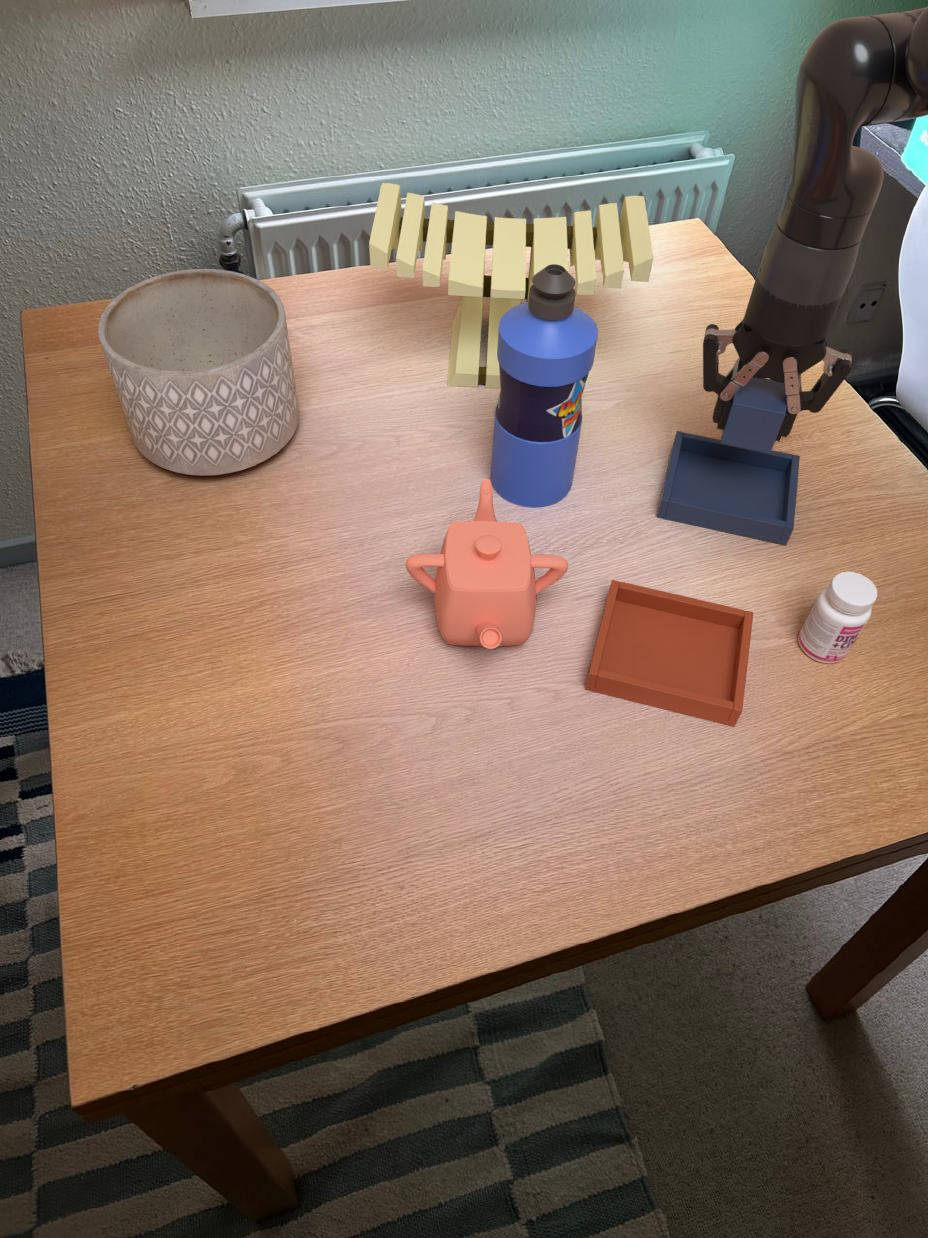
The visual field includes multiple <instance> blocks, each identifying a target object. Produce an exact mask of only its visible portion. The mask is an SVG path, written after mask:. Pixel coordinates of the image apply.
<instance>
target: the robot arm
mask: <svg viewBox="0 0 928 1238" xmlns="http://www.w3.org/2000/svg"><path fill="white" fill-rule="evenodd" d="M795 85H796V86H795V95H794V96H795V97H794V123H793V125H794V126H793V127H794V129H793V142H792V161H791V162H792V163H791V173H790V178H789V180H788V183H787V185H786V186H787V187H786V190H785V191H784V196H783V200H782V203H781V206H780V208H779V212H778V214H777V219H776V222H775V224H774V226H773V229H772V231H771V233H770V235H769V236H768V239H767V242H766V245H765V248H764V251H763V253H762V254H761V256H760V260H759V267H758V270H757V273H756V277H755V279H754V284H753V286H752V289H751V293H750V296H749V300H748V303H747V306H746V308H745V309H746V310H745V313H744V316H743V318H742V320H741V321H740V322H739V323H738V324H737V325H736V326H735V328H734V329H720V327H719V326H718V325H717V324H715V323H711V324H708V325H707V326H706V327H705V332H704V337H703V341H702V387H703V390H704V391H705V392H707V393H714V394H715V395H717V399H716V402H715V405H714V408H713V412H712V423H713V424H716V429H717V430H721V431H722V430H723V429H724V426H725V423H726V420H727V417H728V414H729V411H730V407H731V404H732V400H733V396H734V395H735V394H736V393H737V392H738V391H739V389H740V388H741V387H744V386H745V385H746V384H747V383H748V382H749V380H750V379H751V378H752V377H754V378H766V379H771V380H773V381H776V382H780V383H784V382H785V391H786V397H787V406H786V415H785V417H784V420H783V422H782V425H781V427H780V430H779V433H778V435H777V438H776V440H775V442H781V439H782V438H787V437H788V436H789V435H790V434H791V431H792V429H793V426H794V424H795V422H796V418H797V416H798V414H799V413H801V412H803V411H809V412H810V413H812V414H818V413H820V412H821V411H822V410H823V408H824V407H825V405H826V404H827V403H828V401H829V400H830V399H831V398H832V396H833V395H835V392H837V390H838V389H839V387H840V386H841V385H842V384H843V382H844V381H845V379H846V378H847V377H848V376H849V374H850V373H851V372H852V360H853V358H852V357H853V356H852V355H853V353H852V351H851V350H850V349H848V348H842V349H841V350H839V351H838V350H835V349H834V348H831V347H829V346H828V342H827V337H828V334H829V332H830V330H831V326H832V324H833V321H834V319H835V316H836V314H837V311H838V309H839V306H840V304H841V301H842V299H843V296H844V294H845V291H846V288H847V286H848V284H849V281H850V279H851V276H852V274H853V270H854V268H855V265H856V262H857V259H858V255H859V251H860V246H861V243H862V240H863V236H864V235H865V231H866V228H867V226H868V223H869V221H870V218H871V215H872V213H873V211H874V208H875V206H876V204H877V201H878V198H879V196H880V193H881V190H882V187H883V181H884V176H885V173H884V167H883V164H882V162H881V160H880V159H879V158H878V157H877V156H876V155H875V154H873V153H872V152H870V151H868V150H867V149H864V148H861V147H860V146H854V145H853V143H854V138H855V136H856V133H857V131H858V129H859V128H862V127H863V128H864V127H871V126H877V125H886V124H892V123H897V122H898V123H899V122H904V121H909V120H914V119H918V118H923V117H927V116H928V5H927V6H926V7H922V8H917V9H912V10H907V11H898V12H890V13H880V14H874V15H873V14H872V15H863V16H853V17H852V16H851V17H848V18H847V17H845V18H841V19H838V20H836V21H833V22H831V23H830V24H828V25H827V26H826V27H824V28H823V29H822V30H821V31H820V32H819V33H818V35H816V37H815V38H814V39H813V40H812V42H811V44H810V45H809V47H808V48H807V50H806V51H805V54H804V56H803V57H802V60H801V63H800V66H799V69H798V71H797V77H796V83H795ZM730 345H733V347H734V350H735V351H736V353H737V355H738V358H737V359H736V361H735V362H734V364H733V366H732V368H731V369H729V371H728V372H727V373H726V375H724V374H722V373H720V372H719V371H720V370H719V369H720V366H719V365H720V363H719V362H720V361H719V360H720V359H719V358H720V355H722V354H724V353H725V352H726V350H727V347H728V346H730ZM821 362H823V367H822V369H823V370H822V374H821V375H820V377H819V378H818V379H817V381H816V383H814V384H813V386H812V388H811V389H810V390H805V391H803V389H802V387H803V385H802V374H803V373H805V372H807V371H808V370H810V369H811V368H813V367H814V366H815V365H817V364H819V363H821Z"/></svg>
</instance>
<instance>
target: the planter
mask: <svg viewBox="0 0 928 1238" xmlns="http://www.w3.org/2000/svg"><path fill="white" fill-rule="evenodd" d="M286 316H287V315H286V310H285V305H284V303H283V301H282V300H281V297H280V296H279V295H278V294H277V293H276V291H274V289H273V288H272V287H270V286H269V285H267V284H266V283H264V282H262V281H261V280H259V279H257V278H254V277H252V276H249V275H247V274H244V273H241V272H236V271H231V270H225V269H217V268H216V269H215V268H192V269H182V270H181V269H180V270H176V271H169V272H167V273H161V274H159V275H154V276H153V277H149V278H147V279H144V280H142V281H140V282H137V283H136V284H134V285H131V286H130V287H128V288H126V289H125V290H124V291H122V292H120V293H119V294H118V295H117V296H116V297H114V298H113V299H112V300H111V301H110V302H109V303H108V305H107V306H106V307H105V309H104V310H103V312H102V314H101V315H100V317H99V322H98V326H97V333H98V334H97V335H98V339H99V343H100V345H101V349H102V351H103V354H104V357H105V360H106V363H107V365H108V369H109V372H110V375H111V380H112V381H113V384H114V389H115V390H116V392H117V393H116V394H117V396H118V400H119V403H120V406H121V409H122V411H123V412H122V413H123V415H124V418H125V421H126V423H127V426H128V429H129V433H130V436H131V439H132V442H133V444H134V446H135V447H136V449H137V450H138V451H139V452H140V454H141V455H142V456H143V457H144V458H145V459H146V460H148V461H149V462H150V463H153V464H154V465H156V466H157V467H160V468H162V469H165V470H168V471H169V472H173V473H178V474H183V475H188V476H200V477H201V476H203V477H204V476H220V475H227V474H232V473H236V472H240V471H243V470H247V469H249V468H252V467H255V466H257V465H259V464H261V463H263V462H265V461H266V460H268V459H270V458H272V457H274V455H276V454H277V453H278V452H280V451H281V450H282V449H283V448H285V447H286V445H287V444H288V443H289V442H290V440H291V439H292V438H293V436H294V435H295V432H296V431H297V428H298V425H299V421H300V407H299V401H298V394H297V393H298V392H297V387H296V380H295V373H294V365H293V358H292V351H291V344H290V339H289V338H290V336H289V330H288V323H287V317H286Z"/></svg>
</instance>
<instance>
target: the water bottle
mask: <svg viewBox="0 0 928 1238" xmlns="http://www.w3.org/2000/svg"><path fill="white" fill-rule="evenodd" d="M568 271H569V270H568ZM568 271H567V270H566V269H565V268H564V267H562V266H560V265H557V264H552V265H548V266H547V267H545V268H544V269H542V270H541V271H539V272H538V273H537V274H535V275H534V276H533V278H532V283H533V285H532V286H531V288H530V291H529V301H528V302H523V303H520V304H519V305H517V306H515V307H513V308H511V309H510V310H508V311H507V312H506V313H505V314H504V315H503V316H502V318H501V320H500V322H499V332H498V347H497V358H498V362H499V372H500V387H501V388H499V389H500V390H499V394H498V399H497V403H496V405H495V409H494V417H493V418H494V420H493V432H492V446H491V460H490V461H491V464H490V475H489V478H490V479H489V480H490V481H491V484H492V489H493V490H494V491H495V492H496V493H497V494H498V496H500V498H502V499H503V500H505V501H507V502H509V503H511V504H513V505H516V506H521V507H525V508H543V507H549V506H552V505H555V504H557V503H558V502H560V501H562V500H563V499H564V498H566V497H567V496H568V494H569V493H570V491H571V490H572V486H573V480H574V475H575V469H576V462H577V457H578V456H577V455H578V450H579V445H580V444H579V443H580V437H581V430H582V424H583V403H582V402H583V399H582V397H583V393H584V391H585V388H586V384H587V381H588V377H589V374H590V371H591V370H592V368H593V366H594V361H595V357H596V349H597V343H598V337H599V329H598V326H597V323H596V321H595V320H594V319H593V318H592V317H591V316H590V315H589V314H588V313H587V312H585V311H584V310H582V309H581V308H579V307H576V306H575V302H576V295H577V291H576V289H575V288H576V278H574V277H573V276H572V275H571V273H568Z"/></svg>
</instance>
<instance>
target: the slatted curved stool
mask: <svg viewBox="0 0 928 1238" xmlns="http://www.w3.org/2000/svg"><path fill="white" fill-rule="evenodd" d="M645 199H646V198H645V196H644V195H628V196H625V197H624V199H623V202H622V207H621V211H620V217H619V212H618V211H619V209H618V203H617V202H611V203H603V204H598V208H597V212H596V220H595V225H594V226H593V220H592V218H593V217H592V210H591V209H589V210H582V211H574V213H573V217H572V223H571V225H568V224H567V216H557V217H539V218H537V217H536V218H533V223H527V219H526V218H516V217H515V218H513V217H497V216H495V217H494V221H488V216H487V215H482V214H475V213H469V212H463V211H458V210H456V211H454V212H455V213H454V219H449V205H446V204H441V203H437V202H433V201H432V202H431V206H430V213H429V218H426V204H425V203H426V201H425V196H424V195H421V194H417V193H413V192H409V191H408V192H407V193H406V198H405V205H404V210H403V215H402V192H401V185H400V184H396V183H392V182H391V183H390V182H382V183H381V185H380V190H379V193H378V198H377V203H376V208H375V214H374V218H373V223H372V228H371V233H370V237H369V242H368V244H369V245H368V249H369V266H370V269H389V265H390V259H391V254H392V250H396V257H395V263H396V264H395V265H396V266H395V267H396V278H408V279H409V278H410V279H414V278H415V274H416V267H417V261H418V255H419V252H420V251H421V252H422V251H423V247H424V243H425V249H424V257H423V263H422V264H423V265H422V287H433V288H441V280H442V272H443V271H442V270H443V264H444V261H446V260H447V251H448V244H451V250H450V251H451V252H450V260H449V270H448V284H447V286H448V287H447V295H448V296H458V297H461V300H460V303H459V306H458V309H457V311H456V314H455V316H454V317H453V318H454V319H453V321H452V326H451V336H450V346H449V356H448V357H449V358H448V368H447V380H446V386H447V387H462V388H463V387H464V388H478V387H479V385H485V388H486V389H501V387H500V372H499V362H498V358H497V347H498V332H499V322H500V320H501V318H502V316H503V315H504V314H505V313H506V312H507V311H508V310H510V309H511V308H513V307H515V306H517V305H519V304H521V300H526V302H528V301H529V291H530V288H531V286H532V285H533V283H532V278H533V276H534V275H535V274H537V273H538V272H539V271H541V270H542V269H544V268H545V267H547V266H548V265H552V264H557V265H560V266H562V267H564V268H565V269H566V270H567V271H568V273H569V272H570V271H569V266H570V268H572V267H573V266H574V272H575V273H574V275H575V292H576V295H587V296H594V295H595V289H596V283H597V270H596V269H597V268H596V260H597V261H600V266H601V275H602V284H603V286H602V287H603V288H605V289H622V286H623V285H622V284H623V280H624V279H623V278H624V274H625V264H624V262H626V263H628V270H629V276H630V277H629V278H630V281H631V282H638V283H639V282H640V283H649V282H650V276H651V272H652V266H653V261H654V252H653V246H652V239H651V238H652V237H651V233H650V226H649V220H648V213H647V206H646V200H645ZM402 216H403V217H402ZM487 246H492V258H491V259H492V260H491V275H485V268H486V267H485V264H486V247H487ZM527 248H530V255H529V266H528V277H527V276H526V269H527V268H526V267H527V266H526V265H527V263H526V261H527V259H526V257H527V256H526V255H527ZM568 250H569V251H568ZM568 252H569V253H568ZM569 274H570V273H569ZM484 298H489V311H488V312H489V313H488V333H487V349H486V350H487V351H486V366H480V356H481V341H482V340H481V339H482V322H483V306H484V305H483V304H484ZM526 302H525V303H526Z"/></svg>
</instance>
